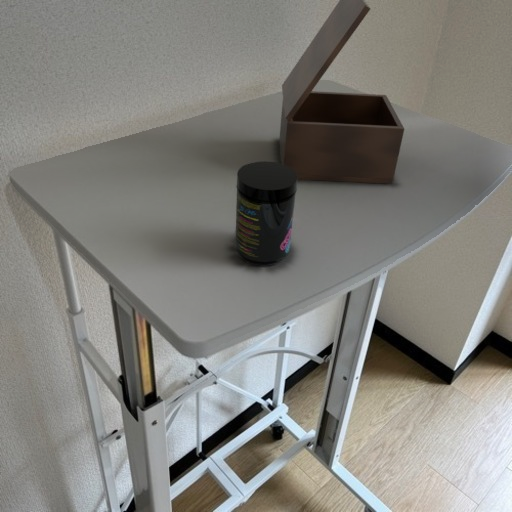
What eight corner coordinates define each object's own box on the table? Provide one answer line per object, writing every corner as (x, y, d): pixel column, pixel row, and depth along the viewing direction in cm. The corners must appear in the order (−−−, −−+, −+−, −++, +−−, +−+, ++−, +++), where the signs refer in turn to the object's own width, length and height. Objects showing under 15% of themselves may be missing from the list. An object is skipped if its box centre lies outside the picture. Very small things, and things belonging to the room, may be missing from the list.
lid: (354, -13, 79) (350, -16, 79) (370, 8, 68) (365, 4, 68) (285, 88, 88) (281, 85, 88) (289, 121, 77) (285, 118, 77)
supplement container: (279, 274, 63) (287, 195, 57) (225, 259, 65) (227, 181, 59) (296, 243, 69) (305, 168, 62) (246, 231, 70) (249, 156, 64)
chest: (376, 145, 94) (386, 94, 89) (392, 183, 83) (404, 128, 78) (279, 140, 93) (283, 89, 88) (282, 178, 82) (287, 123, 77)
